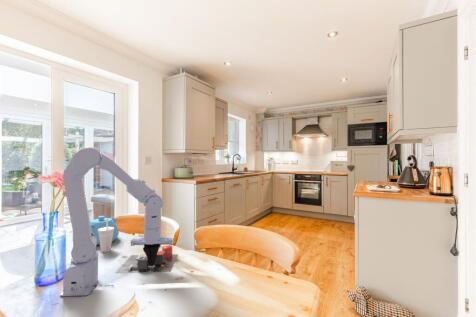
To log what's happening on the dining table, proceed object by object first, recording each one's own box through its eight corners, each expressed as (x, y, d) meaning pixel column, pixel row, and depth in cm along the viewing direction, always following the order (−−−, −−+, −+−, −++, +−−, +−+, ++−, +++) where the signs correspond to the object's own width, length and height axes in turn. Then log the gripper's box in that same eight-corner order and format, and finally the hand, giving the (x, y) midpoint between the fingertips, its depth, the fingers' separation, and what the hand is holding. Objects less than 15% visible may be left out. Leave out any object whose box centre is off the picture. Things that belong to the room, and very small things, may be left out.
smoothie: (117, 248, 105) (117, 217, 105) (107, 253, 99) (108, 221, 99) (103, 247, 106) (104, 217, 106) (93, 252, 99) (94, 220, 99)
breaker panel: (170, 274, 81) (170, 268, 81) (114, 276, 79) (114, 270, 79) (178, 257, 96) (178, 251, 96) (131, 258, 94) (131, 252, 94)
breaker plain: (146, 269, 81) (146, 259, 81) (137, 269, 81) (137, 260, 81) (149, 265, 84) (149, 256, 84) (140, 265, 84) (140, 256, 84)
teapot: (98, 250, 102) (98, 222, 102) (61, 247, 106) (61, 219, 106) (128, 236, 121) (128, 212, 121) (95, 234, 125) (96, 210, 125)
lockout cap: (171, 259, 91) (171, 248, 91) (160, 259, 91) (160, 249, 91) (173, 254, 95) (173, 245, 95) (163, 255, 95) (163, 245, 95)
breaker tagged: (162, 263, 85) (162, 254, 85) (153, 264, 85) (154, 254, 85) (164, 260, 88) (164, 251, 88) (156, 260, 88) (156, 251, 88)
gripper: (175, 223, 87) (174, 259, 87) (136, 224, 86) (135, 260, 86) (171, 229, 80) (170, 268, 80) (128, 229, 79) (127, 269, 79)
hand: (152, 264), depth 83 cm, fingers closed
